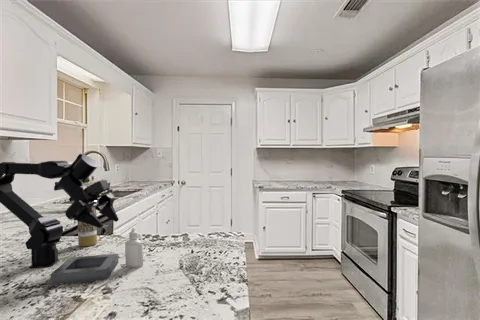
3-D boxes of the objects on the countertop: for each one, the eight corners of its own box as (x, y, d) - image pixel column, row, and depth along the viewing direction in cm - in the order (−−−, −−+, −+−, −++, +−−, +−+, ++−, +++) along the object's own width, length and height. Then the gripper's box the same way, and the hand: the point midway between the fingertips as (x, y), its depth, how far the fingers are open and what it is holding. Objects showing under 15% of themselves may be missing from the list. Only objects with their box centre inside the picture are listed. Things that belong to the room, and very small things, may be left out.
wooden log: (89, 247, 119) (87, 183, 119) (74, 246, 120) (72, 184, 120) (100, 242, 126) (98, 182, 126) (86, 242, 127) (84, 182, 127)
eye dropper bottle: (130, 270, 92) (129, 230, 92) (124, 265, 97) (123, 227, 97) (144, 266, 95) (143, 228, 95) (138, 262, 99) (136, 225, 99)
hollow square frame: (51, 285, 83) (50, 274, 83) (70, 266, 97) (70, 257, 97) (107, 279, 85) (107, 268, 85) (118, 262, 99) (118, 253, 99)
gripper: (73, 173, 88) (109, 210, 87) (108, 170, 107) (139, 201, 105) (49, 200, 89) (85, 238, 88) (89, 193, 108) (119, 224, 106)
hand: (110, 223), depth 97 cm, fingers open, 9 cm apart
